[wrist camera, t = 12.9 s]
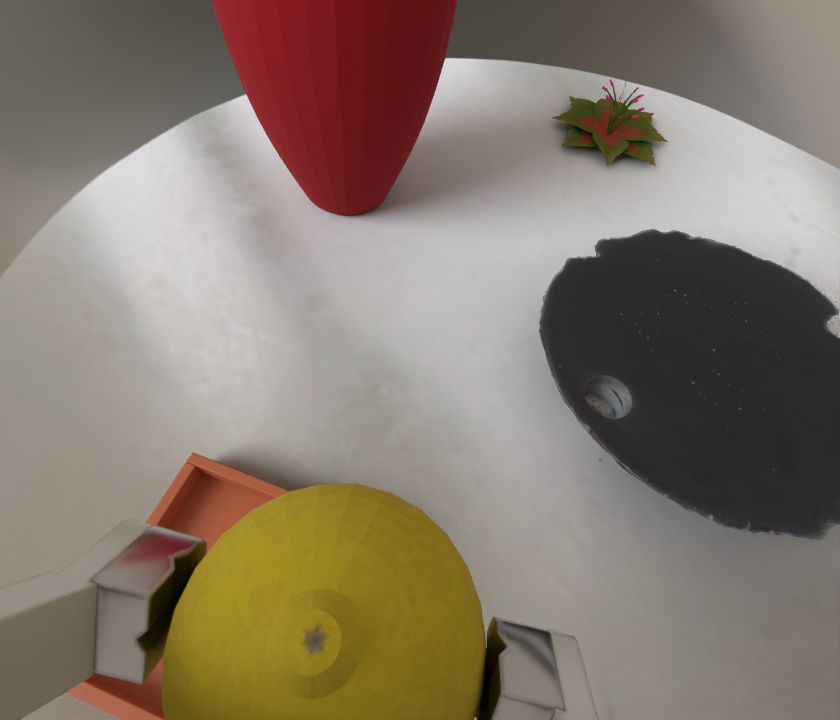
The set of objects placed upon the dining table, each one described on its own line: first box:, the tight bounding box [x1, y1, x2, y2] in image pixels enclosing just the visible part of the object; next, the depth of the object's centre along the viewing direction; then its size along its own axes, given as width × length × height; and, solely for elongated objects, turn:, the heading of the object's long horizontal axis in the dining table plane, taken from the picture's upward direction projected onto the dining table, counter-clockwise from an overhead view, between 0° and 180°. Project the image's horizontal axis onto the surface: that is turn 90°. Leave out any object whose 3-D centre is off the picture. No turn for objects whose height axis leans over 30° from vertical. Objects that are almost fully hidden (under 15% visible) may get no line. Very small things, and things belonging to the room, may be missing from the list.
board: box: [539, 229, 840, 539], centre depth 32 cm, size 22×22×5 cm
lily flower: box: [553, 79, 668, 166], centre depth 48 cm, size 12×12×5 cm
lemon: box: [161, 484, 486, 720], centre depth 9 cm, size 6×6×8 cm
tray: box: [67, 453, 290, 720], centre depth 24 cm, size 11×11×2 cm
